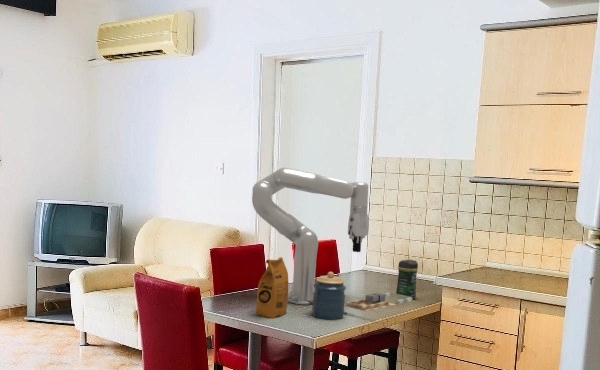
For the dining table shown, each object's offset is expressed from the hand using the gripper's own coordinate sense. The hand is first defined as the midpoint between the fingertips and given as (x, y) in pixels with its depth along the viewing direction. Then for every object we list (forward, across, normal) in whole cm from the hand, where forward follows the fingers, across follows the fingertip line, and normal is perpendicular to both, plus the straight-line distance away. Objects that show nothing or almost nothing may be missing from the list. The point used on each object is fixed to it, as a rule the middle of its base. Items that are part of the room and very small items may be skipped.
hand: (356, 251), depth 246 cm
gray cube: (+22, 0, -9) cm, 24 cm away
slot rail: (+23, +6, -9) cm, 26 cm away
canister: (+23, -27, -6) cm, 36 cm away
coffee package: (+23, -44, +9) cm, 50 cm away
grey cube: (+22, +5, -9) cm, 24 cm away
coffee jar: (+24, +31, -8) cm, 40 cm away
